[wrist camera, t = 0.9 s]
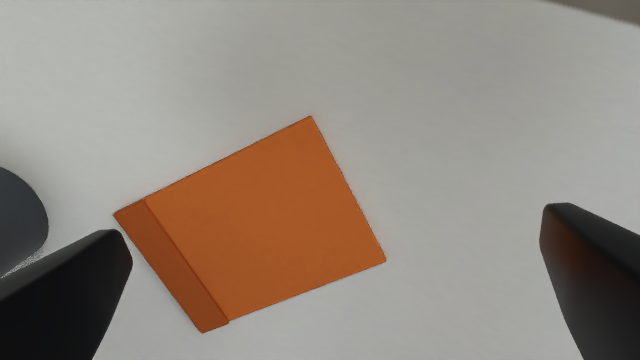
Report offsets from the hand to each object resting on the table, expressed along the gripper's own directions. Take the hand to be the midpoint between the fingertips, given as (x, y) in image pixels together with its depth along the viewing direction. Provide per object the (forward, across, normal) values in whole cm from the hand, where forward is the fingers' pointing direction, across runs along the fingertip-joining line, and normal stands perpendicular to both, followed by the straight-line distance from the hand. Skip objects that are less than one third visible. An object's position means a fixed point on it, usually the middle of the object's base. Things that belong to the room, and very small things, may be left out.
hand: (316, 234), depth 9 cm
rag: (+13, +7, +9) cm, 18 cm away
